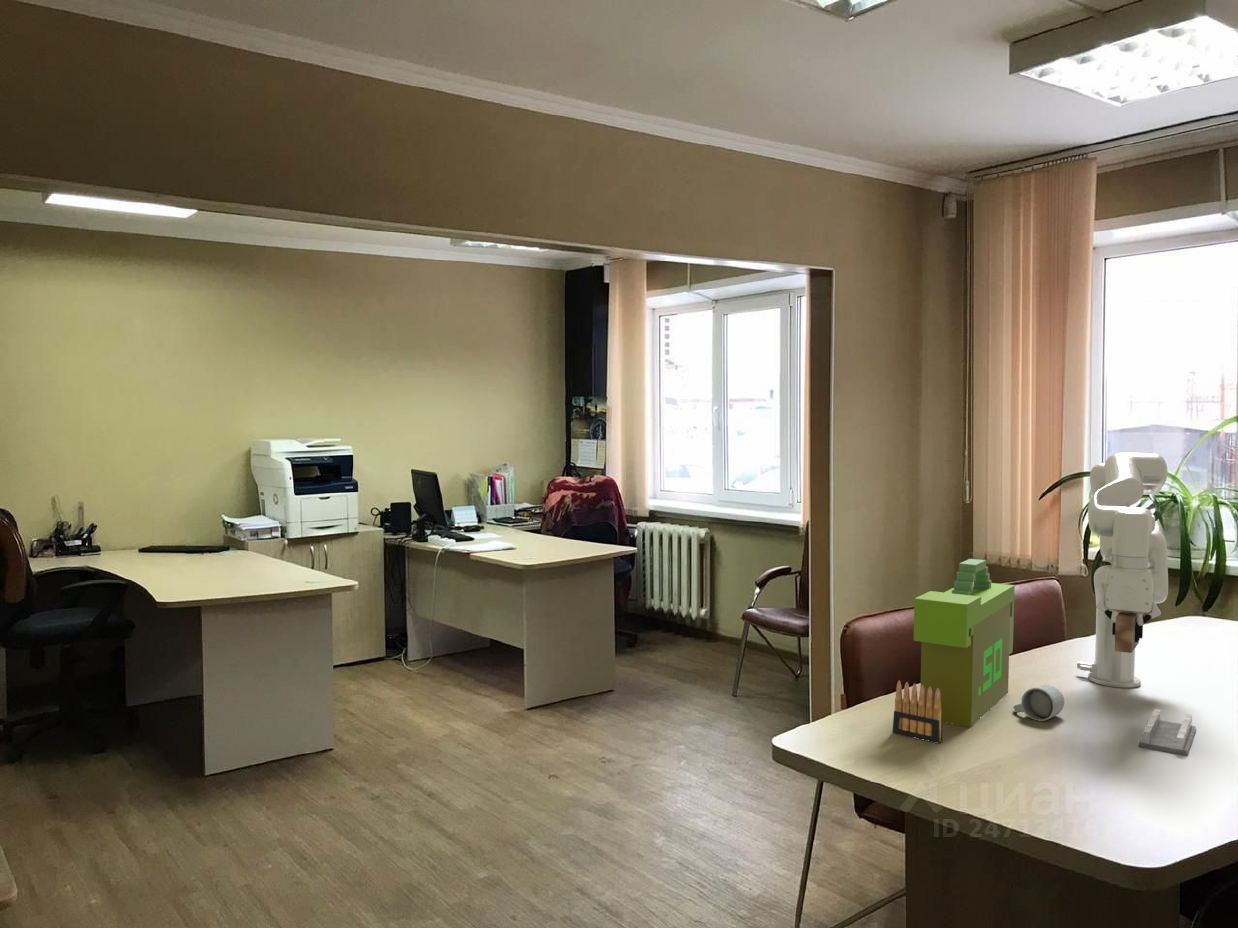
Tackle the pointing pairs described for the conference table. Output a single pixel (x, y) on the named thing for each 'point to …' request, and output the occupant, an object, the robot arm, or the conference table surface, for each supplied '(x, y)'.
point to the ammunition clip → (918, 714)
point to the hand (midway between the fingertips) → (1127, 638)
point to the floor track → (1168, 734)
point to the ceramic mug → (1041, 703)
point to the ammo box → (966, 643)
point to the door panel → (1125, 632)
